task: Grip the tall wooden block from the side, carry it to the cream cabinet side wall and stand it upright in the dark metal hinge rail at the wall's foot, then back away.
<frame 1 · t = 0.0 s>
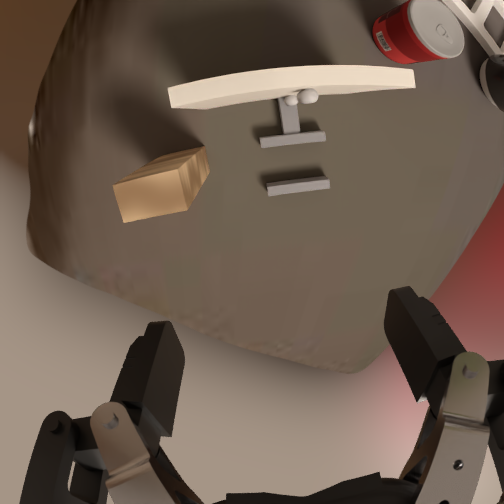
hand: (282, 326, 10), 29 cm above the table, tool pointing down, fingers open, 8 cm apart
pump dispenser: (489, 83, 27), on the table
canned food: (394, 40, 27), on the table
tall wooden block: (185, 163, 35), on the table
cabinet side: (276, 92, 31), on the table
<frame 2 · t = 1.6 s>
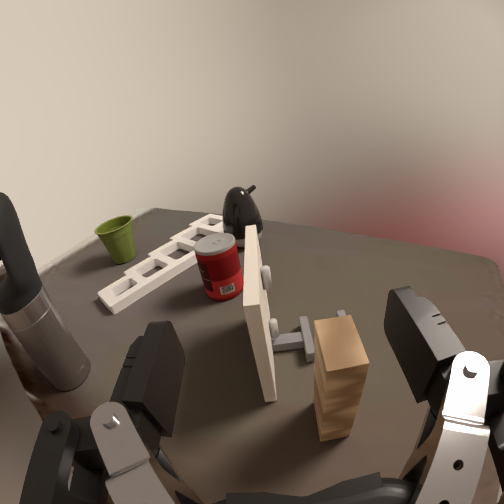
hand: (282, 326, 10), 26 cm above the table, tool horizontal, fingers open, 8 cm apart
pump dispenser: (246, 243, 75), on the table
canned food: (225, 290, 58), on the table
holder: (172, 259, 75), on the table
tall wooden block: (330, 418, 30), on the table
cabinet side: (267, 352, 42), on the table
plant pot: (125, 259, 79), on the table
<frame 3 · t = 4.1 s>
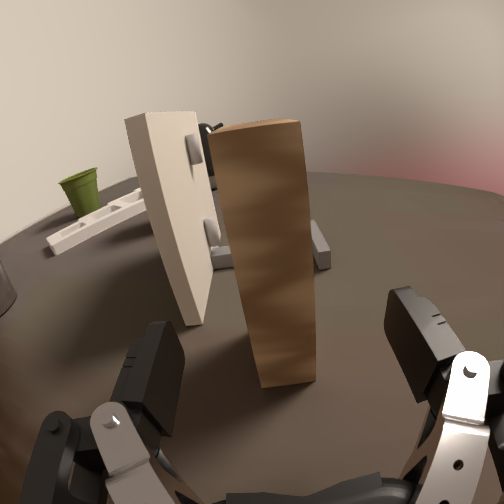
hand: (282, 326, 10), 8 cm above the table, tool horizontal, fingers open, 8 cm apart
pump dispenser: (213, 187, 65), on the table
holder: (131, 208, 64), on the table
tall wooden block: (284, 351, 19), on the table
cabinet side: (206, 270, 31), on the table
plant pot: (89, 213, 69), on the table
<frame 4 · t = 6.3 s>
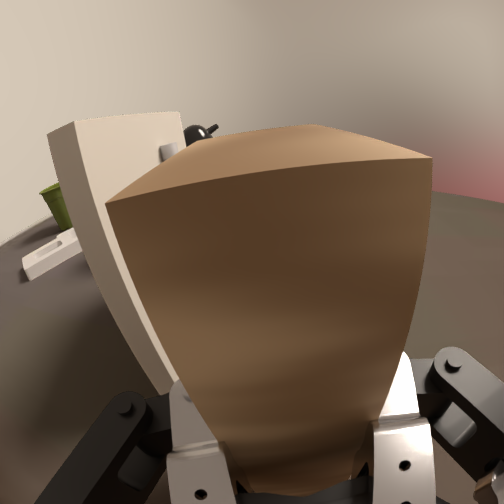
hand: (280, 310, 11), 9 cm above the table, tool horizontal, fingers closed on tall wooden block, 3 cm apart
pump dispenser: (207, 197, 58), on the table
holder: (115, 222, 56), on the table
tall wooden block: (297, 456, 12), on the table, touching gripper
cabinet side: (195, 319, 24), on the table
plant pot: (73, 225, 61), on the table
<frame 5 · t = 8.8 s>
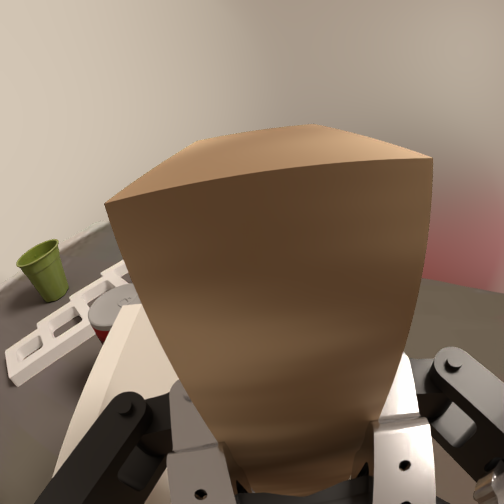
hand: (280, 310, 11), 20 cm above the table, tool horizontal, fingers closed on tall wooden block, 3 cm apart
canned food: (152, 368, 34), on the table
holder: (98, 305, 49), on the table, touching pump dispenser
tall wooden block: (297, 456, 12), point 11 cm above the table, touching gripper
cabinet side: (195, 503, 17), on the table
plant pot: (57, 294, 54), on the table
when the fingers open (9 cm above the table, at t = 11.1 s): tall wooden block stays where it is, on the table.
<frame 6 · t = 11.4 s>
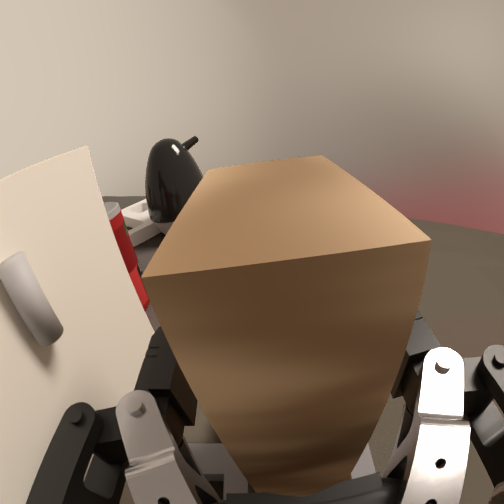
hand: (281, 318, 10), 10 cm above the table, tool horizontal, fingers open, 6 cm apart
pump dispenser: (186, 230, 46), on the table
canned food: (120, 310, 29), on the table
holder: (75, 263, 44), on the table
tall wooden block: (297, 460, 13), on the table
cabinet side: (144, 474, 12), on the table
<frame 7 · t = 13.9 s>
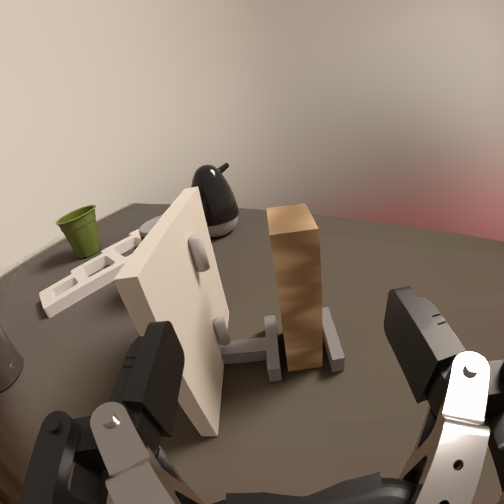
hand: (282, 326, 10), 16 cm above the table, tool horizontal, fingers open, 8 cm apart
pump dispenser: (219, 232, 63), on the table
holder: (126, 257, 61), on the table
tall wooden block: (301, 348, 29), on the table
cabinet side: (217, 364, 29), on the table
plant pot: (89, 253, 67), on the table
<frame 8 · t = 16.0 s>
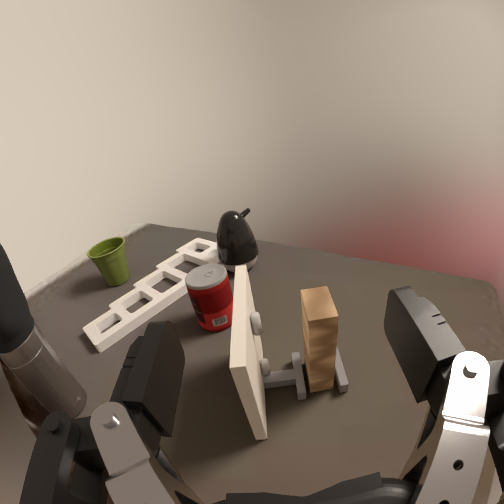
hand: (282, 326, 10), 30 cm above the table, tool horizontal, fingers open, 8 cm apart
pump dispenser: (241, 267, 74), on the table
canned food: (218, 320, 57), on the table
holder: (158, 290, 71), on the table
tall wooden block: (318, 375, 40), on the table
cabinet side: (259, 389, 40), on the table
plant pot: (119, 281, 77), on the table
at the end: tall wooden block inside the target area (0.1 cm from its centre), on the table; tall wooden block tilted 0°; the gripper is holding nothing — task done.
